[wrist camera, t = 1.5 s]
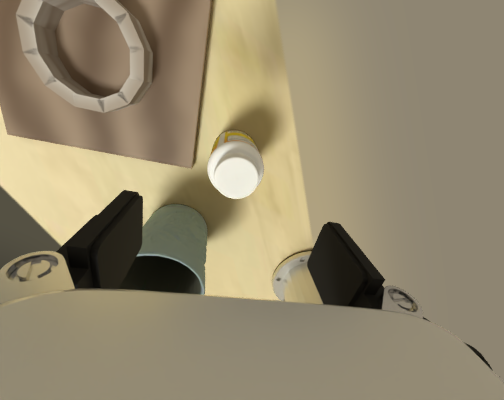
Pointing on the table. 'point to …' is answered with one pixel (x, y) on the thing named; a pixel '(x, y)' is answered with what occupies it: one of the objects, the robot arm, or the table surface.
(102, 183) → the table surface
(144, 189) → the table surface
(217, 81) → the table surface
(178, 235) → the blue-grey plant pot
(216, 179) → the supplement bottle
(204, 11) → the collar board
